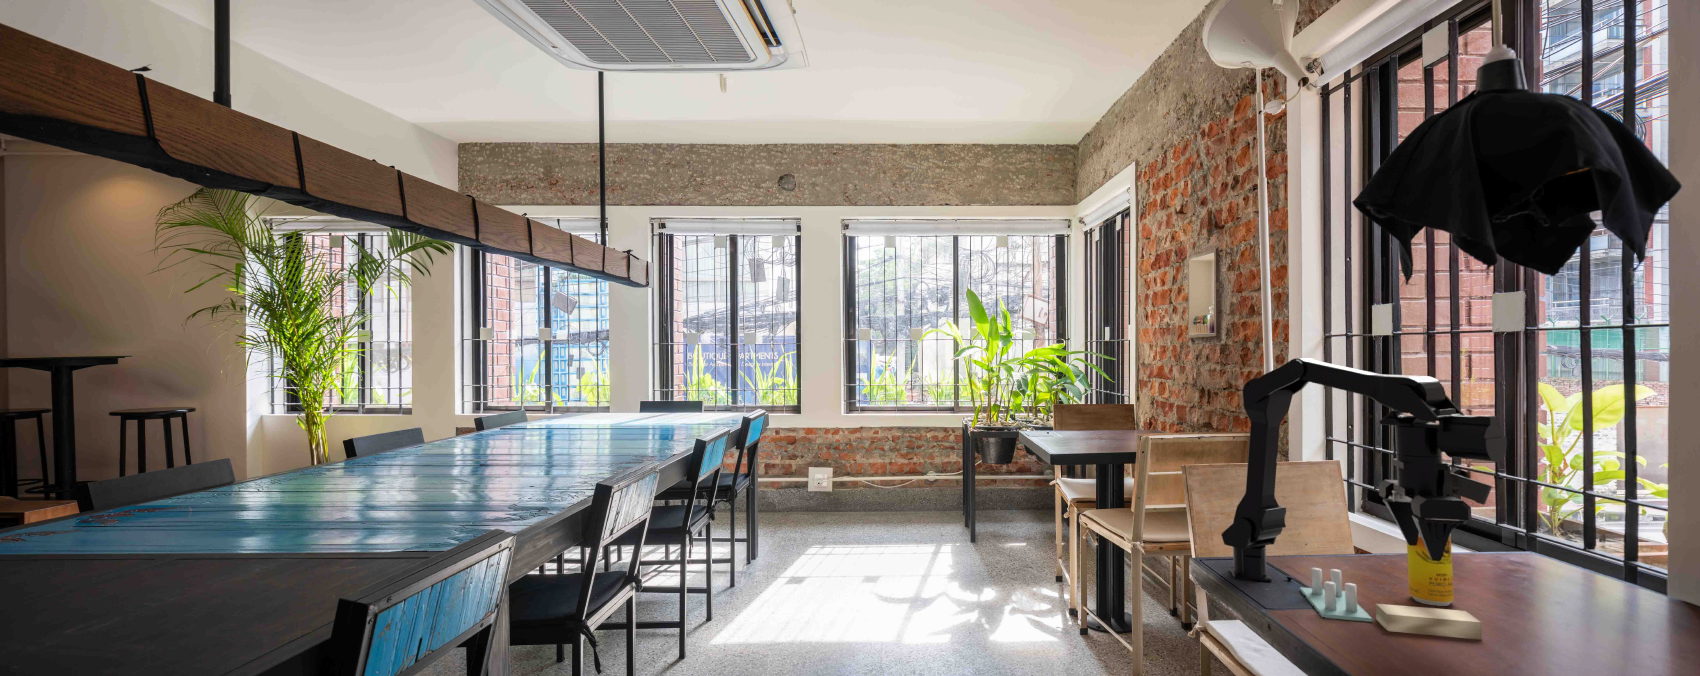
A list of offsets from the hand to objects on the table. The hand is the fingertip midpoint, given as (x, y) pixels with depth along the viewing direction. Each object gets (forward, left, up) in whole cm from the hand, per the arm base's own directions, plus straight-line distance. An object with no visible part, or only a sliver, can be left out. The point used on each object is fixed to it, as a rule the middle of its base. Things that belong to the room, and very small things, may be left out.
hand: (1423, 552), depth 112 cm
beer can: (-15, +6, -12) cm, 20 cm away
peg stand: (-8, -11, -12) cm, 18 cm away
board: (0, 0, -13) cm, 13 cm away
